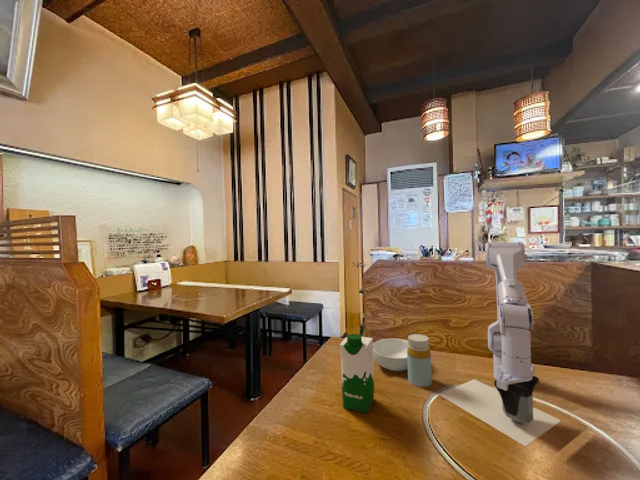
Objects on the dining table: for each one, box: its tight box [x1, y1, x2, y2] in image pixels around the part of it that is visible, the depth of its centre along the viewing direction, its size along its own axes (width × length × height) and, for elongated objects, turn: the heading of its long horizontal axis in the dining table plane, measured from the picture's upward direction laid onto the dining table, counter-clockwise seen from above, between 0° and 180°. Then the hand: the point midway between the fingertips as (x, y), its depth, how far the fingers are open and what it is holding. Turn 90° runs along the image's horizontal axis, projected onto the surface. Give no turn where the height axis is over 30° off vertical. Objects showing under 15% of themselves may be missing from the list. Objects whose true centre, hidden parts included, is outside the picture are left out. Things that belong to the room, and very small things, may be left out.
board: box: [438, 378, 562, 447], centre depth 72 cm, size 16×22×1 cm
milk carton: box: [339, 333, 375, 414], centre depth 77 cm, size 9×9×20 cm
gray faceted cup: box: [502, 384, 534, 423], centre depth 66 cm, size 6×6×6 cm
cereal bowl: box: [373, 337, 408, 372], centre depth 98 cm, size 17×17×7 cm
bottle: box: [407, 333, 433, 388], centre depth 85 cm, size 7×7×15 cm
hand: (517, 408), depth 66 cm, fingers closed on gray faceted cup, 6 cm apart
